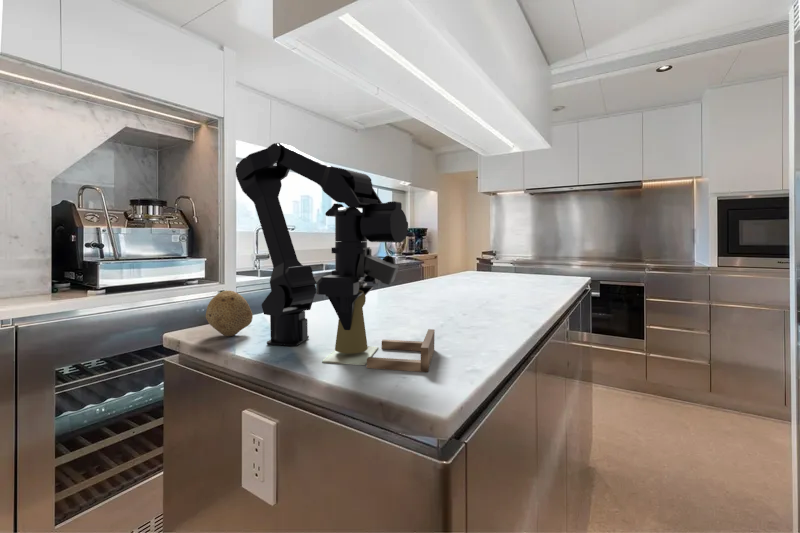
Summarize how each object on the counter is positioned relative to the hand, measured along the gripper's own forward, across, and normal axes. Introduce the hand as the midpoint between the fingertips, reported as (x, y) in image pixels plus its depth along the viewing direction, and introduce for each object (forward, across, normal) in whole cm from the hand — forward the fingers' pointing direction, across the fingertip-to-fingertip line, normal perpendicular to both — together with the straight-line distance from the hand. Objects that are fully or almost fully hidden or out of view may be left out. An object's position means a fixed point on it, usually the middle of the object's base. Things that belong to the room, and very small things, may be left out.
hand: (351, 327), depth 70 cm
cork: (+4, 0, 0) cm, 4 cm away
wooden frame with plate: (+5, 0, -6) cm, 8 cm away
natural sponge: (+6, +8, +30) cm, 32 cm away
